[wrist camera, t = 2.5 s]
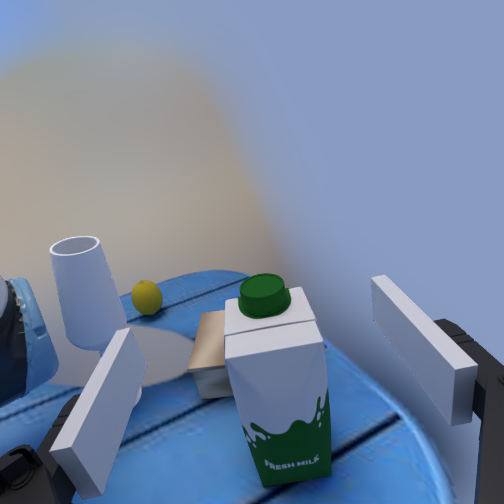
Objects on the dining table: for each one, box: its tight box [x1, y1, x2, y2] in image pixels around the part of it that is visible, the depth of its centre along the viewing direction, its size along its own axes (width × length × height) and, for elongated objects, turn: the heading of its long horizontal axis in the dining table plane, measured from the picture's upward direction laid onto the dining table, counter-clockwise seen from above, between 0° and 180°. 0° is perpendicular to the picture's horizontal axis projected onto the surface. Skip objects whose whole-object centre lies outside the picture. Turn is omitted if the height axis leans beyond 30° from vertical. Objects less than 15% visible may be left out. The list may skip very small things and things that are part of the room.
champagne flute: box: [50, 236, 142, 408], centre depth 38 cm, size 7×7×24 cm
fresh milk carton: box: [223, 273, 331, 487], centre depth 30 cm, size 9×9×20 cm
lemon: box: [132, 280, 162, 315], centre depth 60 cm, size 6×6×8 cm
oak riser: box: [188, 310, 234, 399], centre depth 45 cm, size 12×12×6 cm
